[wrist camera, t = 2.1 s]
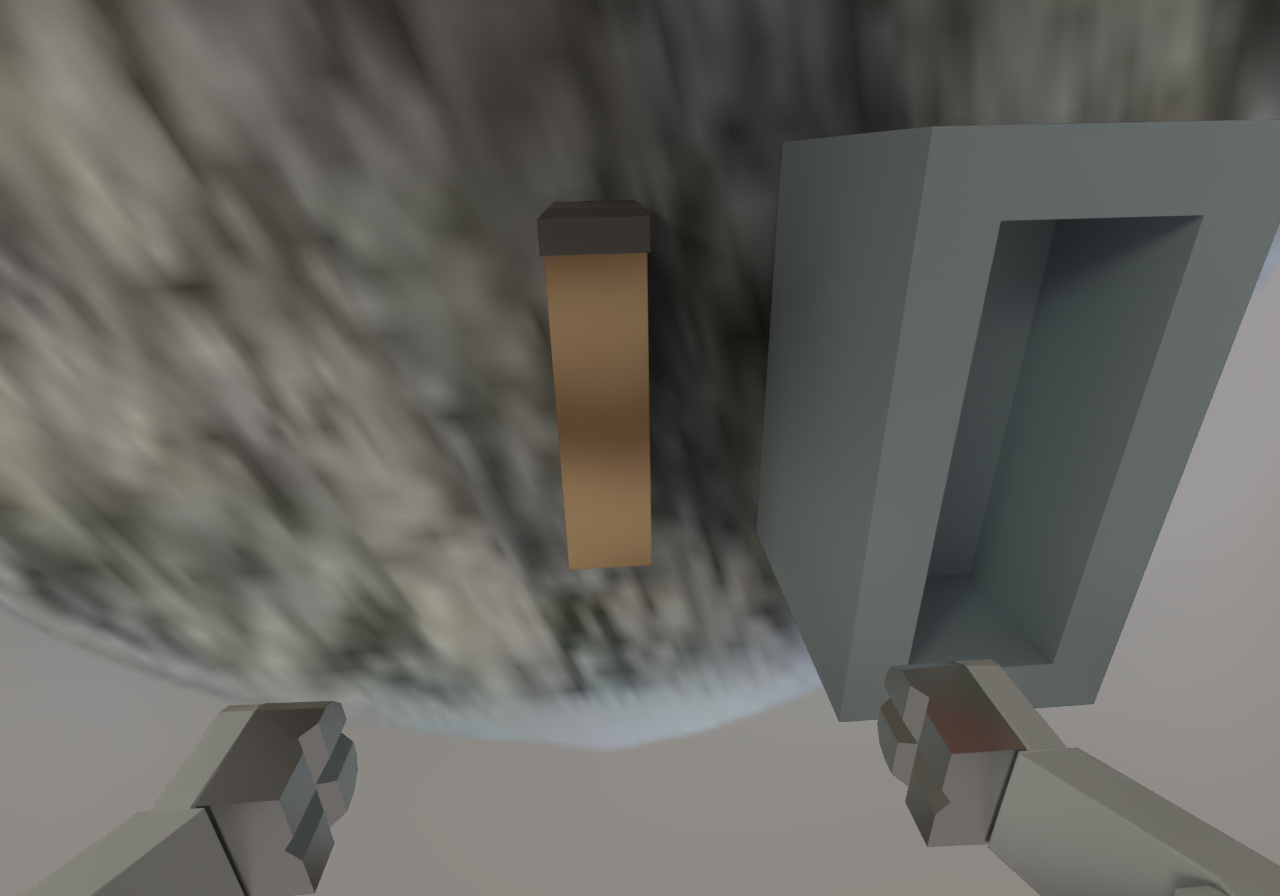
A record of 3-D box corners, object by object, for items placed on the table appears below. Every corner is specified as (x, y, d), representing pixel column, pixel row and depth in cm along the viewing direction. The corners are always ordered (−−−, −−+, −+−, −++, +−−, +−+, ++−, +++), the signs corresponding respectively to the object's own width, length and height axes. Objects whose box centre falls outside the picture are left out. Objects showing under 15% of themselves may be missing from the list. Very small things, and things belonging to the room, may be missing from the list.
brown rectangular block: (639, 467, 30) (654, 564, 23) (573, 470, 30) (566, 569, 23) (633, 200, 25) (650, 216, 18) (553, 202, 25) (537, 219, 18)
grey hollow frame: (755, 531, 32) (839, 722, 21) (782, 141, 25) (933, 126, 14) (926, 522, 33) (1093, 704, 22) (1003, 137, 25) (1319, 118, 14)
